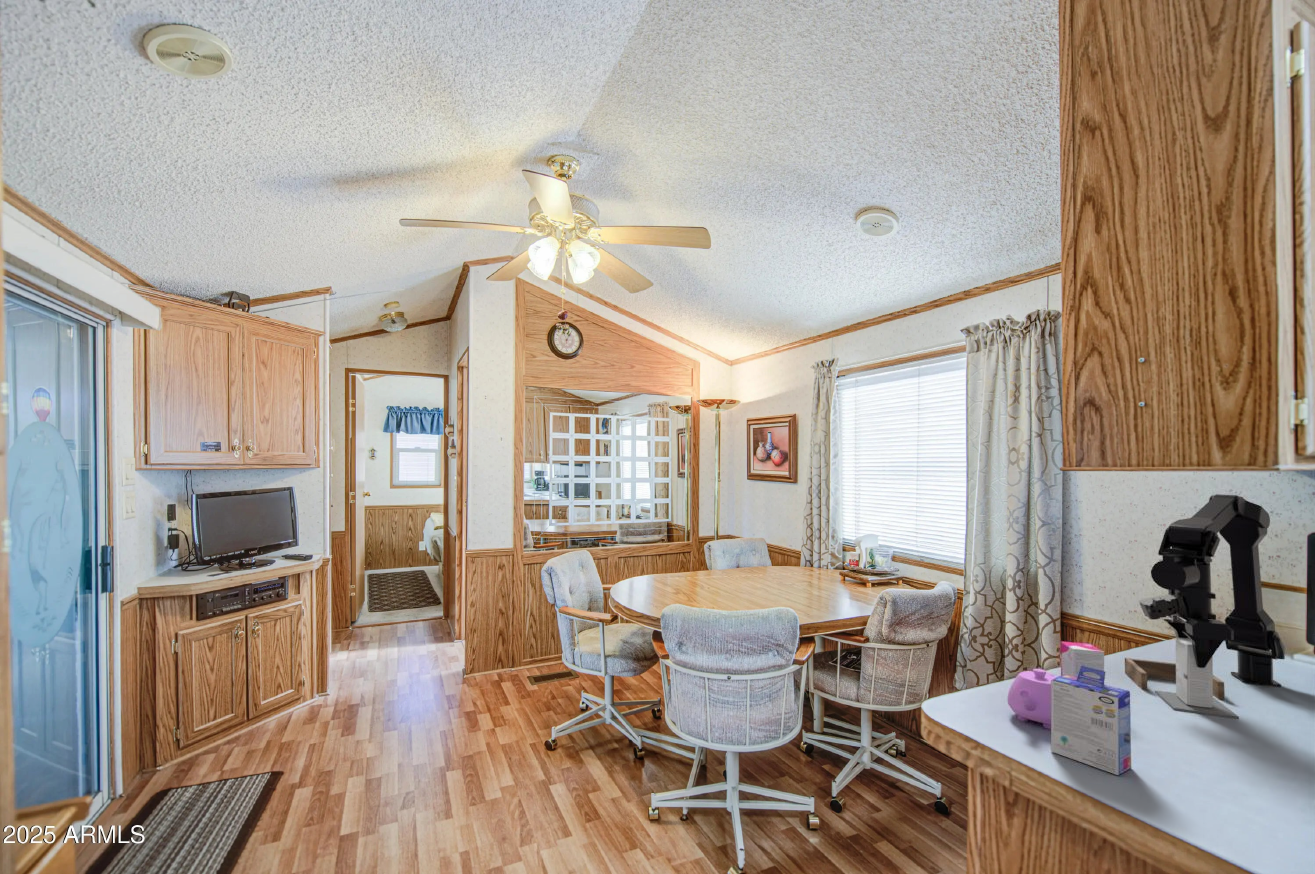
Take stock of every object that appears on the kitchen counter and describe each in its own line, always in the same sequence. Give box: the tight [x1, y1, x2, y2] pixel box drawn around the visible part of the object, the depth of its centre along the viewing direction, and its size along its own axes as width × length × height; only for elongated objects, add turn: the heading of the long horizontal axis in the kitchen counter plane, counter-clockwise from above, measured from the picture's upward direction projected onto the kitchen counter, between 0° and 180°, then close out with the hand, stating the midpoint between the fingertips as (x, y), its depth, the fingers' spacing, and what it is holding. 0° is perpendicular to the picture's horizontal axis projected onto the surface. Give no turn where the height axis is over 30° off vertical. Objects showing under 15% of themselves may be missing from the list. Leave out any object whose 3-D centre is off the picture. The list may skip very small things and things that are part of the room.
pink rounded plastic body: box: [1006, 668, 1058, 730], centre depth 114 cm, size 10×15×9 cm
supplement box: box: [1060, 641, 1105, 679], centre depth 123 cm, size 6×6×12 cm
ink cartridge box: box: [1050, 666, 1132, 776], centre depth 99 cm, size 10×6×14 cm, turn 36°
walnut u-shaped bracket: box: [1124, 657, 1226, 701], centre depth 133 cm, size 11×14×4 cm
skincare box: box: [1175, 637, 1214, 708], centre depth 123 cm, size 6×4×12 cm
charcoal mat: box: [1154, 690, 1240, 719], centre depth 123 cm, size 10×10×1 cm
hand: (1193, 662), depth 123 cm, fingers open, 6 cm apart
